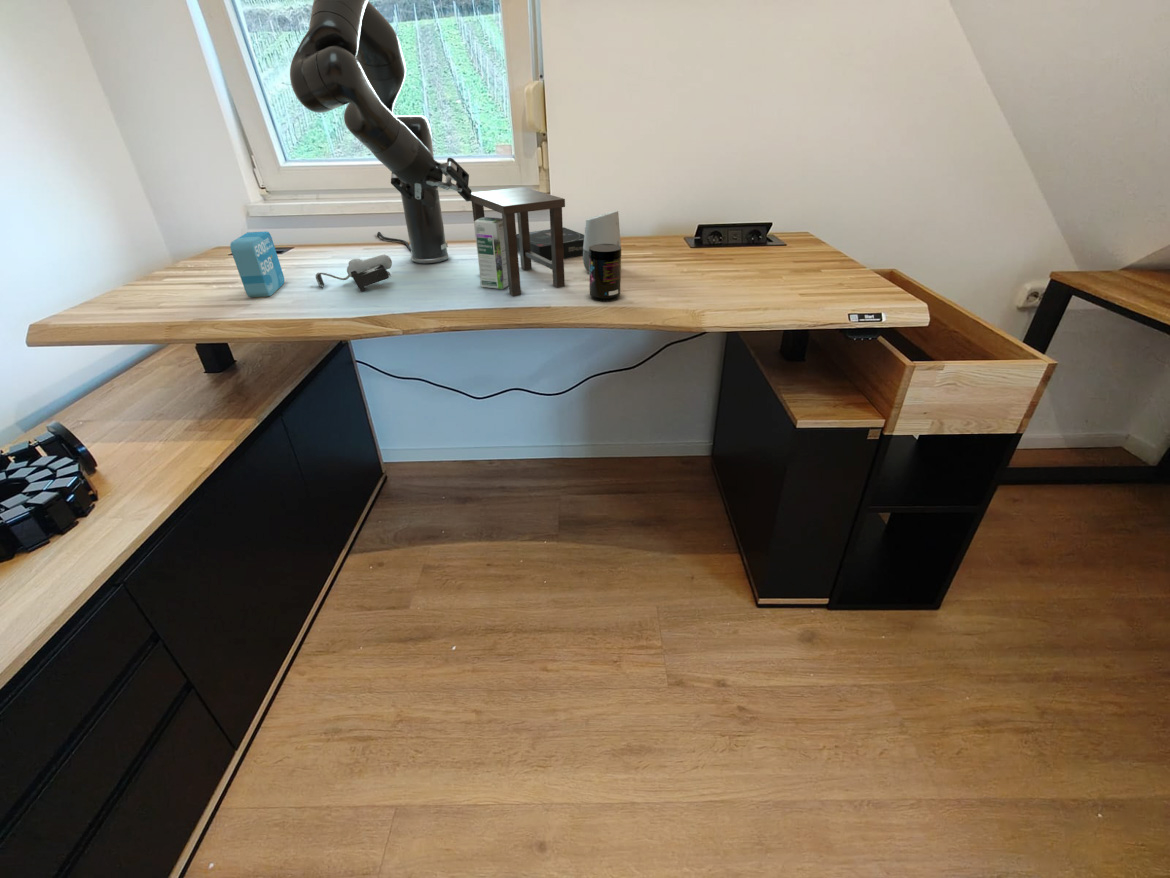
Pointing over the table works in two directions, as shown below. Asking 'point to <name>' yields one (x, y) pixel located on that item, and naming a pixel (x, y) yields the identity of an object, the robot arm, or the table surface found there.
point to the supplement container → (605, 271)
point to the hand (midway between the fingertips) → (451, 200)
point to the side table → (524, 229)
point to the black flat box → (542, 243)
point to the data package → (257, 264)
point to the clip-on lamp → (364, 271)
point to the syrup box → (491, 252)
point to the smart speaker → (601, 233)
